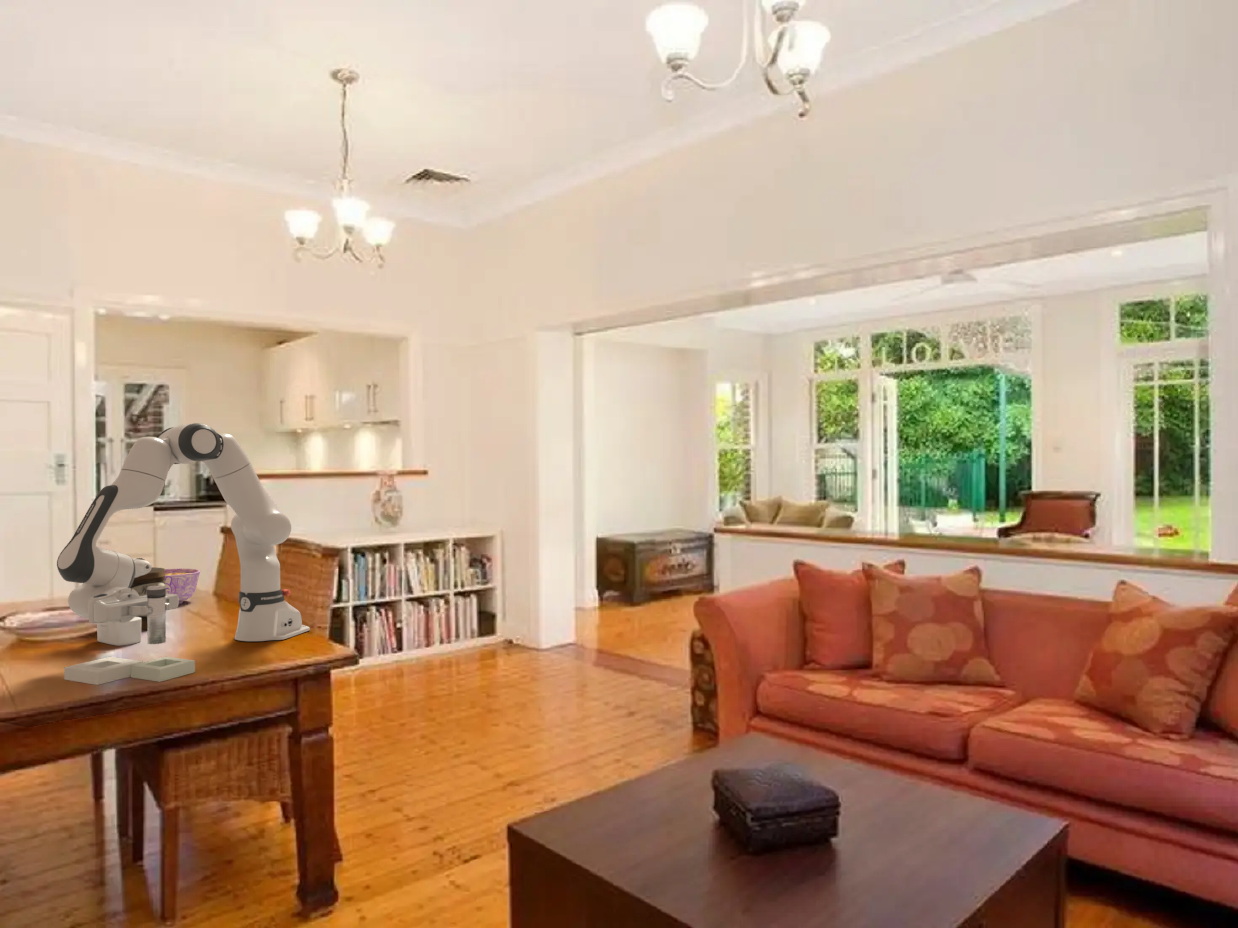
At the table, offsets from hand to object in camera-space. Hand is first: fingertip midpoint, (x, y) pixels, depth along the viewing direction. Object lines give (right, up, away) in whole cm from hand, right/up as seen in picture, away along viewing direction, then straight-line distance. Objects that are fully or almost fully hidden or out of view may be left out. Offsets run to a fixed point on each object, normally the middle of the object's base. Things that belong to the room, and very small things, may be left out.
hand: (159, 608), depth 212 cm
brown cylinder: (-39, -16, +60) cm, 73 cm away
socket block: (-13, -17, -1) cm, 21 cm away
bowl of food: (-51, -16, +102) cm, 115 cm away
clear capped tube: (-1, -8, 0) cm, 9 cm away
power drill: (-30, -16, +36) cm, 50 cm away
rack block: (+1, -17, +1) cm, 17 cm away
